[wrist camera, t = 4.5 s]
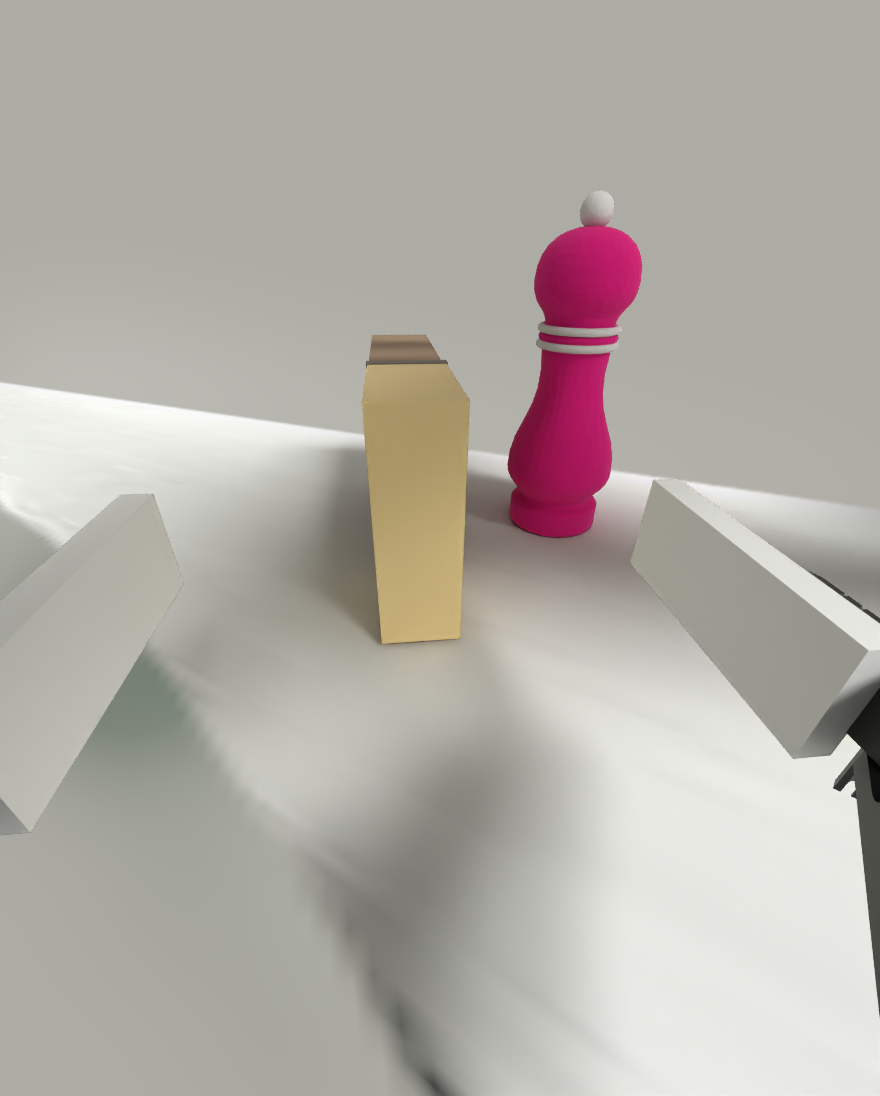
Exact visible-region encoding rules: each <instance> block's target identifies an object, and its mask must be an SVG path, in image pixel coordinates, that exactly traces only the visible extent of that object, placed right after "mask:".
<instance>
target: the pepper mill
mask: <svg viewBox="0 0 880 1096" xmlns="http://www.w3.org/2000/svg"><path fill="white" fill-rule="evenodd" d="M613 211H614V202H613V199H612V197H611V196H610V194H608V193H607V192H605V191H595V192H593V193H591V194H590V195H589V196H588V197H587V198H586V199H585V200H584V202H583V204H582V206H581V210H580V217H581V222H582V224H583V225H584V226H585V227H580V228H576V229H573V230H570V231H567V232H565V233H564V234H562V235H560V236H558V237H557V238H556V239H555V240H554V241H553V242H551V244H549V245H548V247H547V248H546V250H545V251H544V253H543V254H542V256H541V259H540V261H539V263H538V266H537V270H536V275H535V280H534V291H535V295H536V299H537V302H538V304H539V305H540V307H541V308H542V310H543V312H544V316H545V321H544V322H542V323H540V324H539V325H538V330H539V331H540V333H539V339H538V340H537V341H536V345H537V346H538V347H539V348H541V349H542V358H541V372H540V378H539V383H538V388H537V391H536V394H535V397H534V400H533V403H532V404H531V407H530V408H529V411H528V412H527V414H526V416H525V418H524V420H523V422H522V424H521V426H520V427H519V429H518V431H517V433H516V435H515V437H514V440H513V443H512V446H511V448H510V453H509V458H508V471H509V474H510V476H511V478H512V480H513V481H514V482H515V484H516V485H517V486H518V487H517V488H515V489H514V491H513V492H512V494H511V504H510V517H511V519H512V520H513V522H514V523H515V524H516V525H518V526H519V527H520V528H522V529H524V530H526V531H528V532H531V533H534V534H538V535H542V536H547V537H570V536H575V535H578V534H582V533H583V532H585V531H586V530H588V529H589V528H590V527H591V525H592V522H593V518H594V513H595V508H596V501H595V499H594V497H593V496H592V495H593V494H595V493H596V492H598V491H599V490H600V489H601V488H602V487H603V486H604V485H605V484H606V482H607V481H608V479H609V476H610V471H611V463H612V451H611V441H610V437H609V432H608V428H607V424H606V419H605V414H604V409H603V387H604V377H605V371H606V368H607V363H608V360H609V356H610V352H613V351H615V350H617V348H618V346H619V345H618V343H617V340H618V334H619V333H621V331H622V328H621V326H620V325H618V324H616V321H617V320H618V318H619V316H620V315H621V314H622V312H624V310H625V309H626V308H627V307H628V306H629V305H630V304H631V303H632V302H633V300H634V299H635V297H636V295H637V293H638V289H639V286H640V282H641V272H642V261H641V255H640V252H639V249H638V247H637V245H636V243H635V242H634V241H633V240H632V239H631V238H630V237H629V236H628V235H627V234H625V233H624V232H622V231H620V230H617V229H614V228H611V227H605V226H606V224H608V222H609V221H610V219H611V218H612V215H613Z"/></svg>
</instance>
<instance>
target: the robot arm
mask: <svg viewBox="0 0 880 1096" xmlns="http://www.w3.org/2000/svg"><path fill="white" fill-rule="evenodd" d="M630 563H631V564H632V565H633V567H634V568H635V569H636V570H637V571H638V573H639V574H640V575H641V576H642V577H643V579H644V580H645V581H646V582H647V584H648V585H649V586H650V587H651V588H652V590H653V591H654V592H655V593H656V594H657V596H658V597H659V598H660V599H661V600H662V602H663V603H664V604H665V605H666V606H667V608H668V609H669V610H670V611H671V612H672V614H673V615H674V616H675V617H676V618H677V620H678V621H679V622H680V623H681V624H682V626H683V627H684V628H685V629H686V630H687V632H688V633H689V634H690V635H691V636H692V638H693V639H694V640H695V641H696V642H697V644H698V645H699V646H700V647H701V648H702V650H703V651H704V652H705V653H706V654H707V656H708V657H709V658H710V659H711V661H712V662H713V663H714V664H715V665H716V667H717V668H718V669H719V670H720V671H721V673H722V674H723V675H724V676H725V677H726V679H727V680H728V681H729V682H730V683H731V685H732V686H733V687H734V688H735V689H736V691H737V692H738V693H739V694H740V695H741V697H742V698H743V699H744V700H745V701H746V703H747V704H748V705H749V706H750V707H751V709H752V710H753V711H754V712H755V713H756V715H757V716H758V717H759V718H760V719H761V721H762V722H763V723H764V724H765V725H766V727H767V728H768V729H769V730H770V731H771V733H772V734H773V735H774V736H775V737H776V739H777V740H778V741H779V742H780V744H781V745H782V746H783V747H784V748H785V750H786V751H787V752H788V753H789V754H790V756H791V757H792V758H793V759H796V758H807V757H817V756H827V755H831V754H832V753H833V751H834V750H835V749H836V747H837V746H838V745H839V743H840V742H841V741H842V739H843V738H844V737H845V736H846V734H848V735H849V736H850V737H851V738H852V739H853V740H854V741H855V742H856V743H857V744H858V745H859V746H860V747H861V749H860V750H859V751H858V753H857V754H856V755H855V756H854V758H853V759H852V760H851V761H850V763H849V764H848V765H847V766H846V768H845V769H844V770H843V771H842V772H841V774H840V775H839V776H838V777H837V779H836V780H835V783H834V787H833V788H834V789H836V790H838V791H841V790H842V789H843V788H844V787H845V786H846V784H847V783H848V782H850V781H855V788H856V790H855V791H854V792H853V793H852V794H851V797H854V798H856V799H857V807H858V816H859V826H860V835H861V845H862V854H863V864H864V873H865V883H866V892H867V902H868V911H869V921H870V930H871V940H872V949H873V959H874V968H875V978H876V987H877V996H878V1006H879V1015H880V618H878V617H877V616H876V615H874V614H873V613H871V612H870V611H869V610H867V609H862V605H860V604H859V603H857V602H856V601H855V600H853V599H852V598H850V597H849V596H844V593H843V592H842V591H841V590H839V589H838V588H836V587H835V586H834V585H832V584H831V583H829V582H828V581H827V580H825V579H824V578H822V577H820V576H818V575H816V574H814V573H812V572H809V571H807V570H805V569H803V568H802V567H801V566H799V565H798V564H797V563H795V562H794V561H792V560H791V559H790V558H788V557H787V556H785V555H784V554H783V553H781V552H780V551H779V550H777V549H776V548H774V547H773V546H772V545H770V544H769V543H767V542H766V541H765V540H763V539H762V538H761V537H759V536H758V535H756V534H755V533H754V532H752V531H751V530H749V529H748V528H747V527H745V526H744V525H743V524H741V523H740V522H738V521H737V520H736V519H734V518H733V517H731V516H730V515H729V514H727V513H726V512H725V511H723V510H722V509H720V508H719V507H718V506H716V505H715V504H713V503H712V502H711V501H709V500H708V499H707V498H705V497H704V496H702V495H701V494H700V493H698V492H697V491H695V490H694V489H693V488H691V487H690V486H689V485H687V484H686V483H684V482H683V481H682V480H680V479H660V480H653V483H652V487H651V490H650V494H649V497H648V501H647V504H646V508H645V512H644V515H643V519H642V522H641V526H640V529H639V533H638V536H637V540H636V543H635V547H634V550H633V554H632V557H631V561H630ZM183 585H184V582H183V579H182V576H181V573H180V570H179V568H178V565H177V562H176V559H175V556H174V553H173V550H172V547H171V544H170V541H169V538H168V535H167V533H166V530H165V527H164V524H163V521H162V518H161V515H160V512H159V509H158V506H157V503H156V500H155V498H154V495H153V494H133V495H120V496H119V497H117V498H116V499H115V500H114V501H113V502H112V503H111V504H110V505H108V506H107V507H106V508H105V509H104V510H103V511H102V512H101V513H99V514H98V515H97V516H96V517H95V518H94V519H93V520H91V521H90V522H89V523H88V524H87V525H86V526H85V527H84V528H82V529H81V530H80V531H79V532H78V533H77V534H76V535H75V536H73V537H72V538H71V539H70V540H69V541H68V542H67V543H66V544H64V545H63V546H62V547H61V548H60V549H59V550H58V551H56V552H55V553H54V554H53V555H52V556H51V557H50V558H49V559H47V560H46V561H45V562H44V563H43V564H42V565H41V566H40V567H38V569H36V570H35V571H34V572H33V573H32V574H31V575H30V576H28V577H27V578H26V579H25V580H24V581H23V582H21V583H20V584H19V585H18V586H17V587H16V588H15V589H14V590H12V591H11V592H10V593H9V594H8V595H7V596H6V597H5V598H3V599H2V600H1V601H0V835H9V834H20V833H30V832H31V831H32V829H33V828H34V826H35V824H36V823H37V821H38V819H39V818H40V816H41V815H42V813H43V811H44V810H45V808H46V806H47V805H48V803H49V801H50V800H51V798H52V797H53V795H54V794H55V792H56V790H57V789H58V787H59V785H60V784H61V782H62V781H63V779H64V777H65V776H66V774H67V772H68V771H69V769H70V768H71V766H72V764H73V763H74V761H75V760H76V758H77V756H78V754H79V753H80V751H81V750H82V748H83V746H84V745H85V743H86V742H87V740H88V738H89V737H90V735H91V733H92V732H93V730H94V729H95V727H96V725H97V724H98V722H99V720H100V719H101V717H102V716H103V714H104V713H105V711H106V709H107V708H108V706H109V704H110V703H111V701H112V700H113V698H114V696H115V695H116V693H117V691H118V690H119V688H120V687H121V685H122V683H123V682H124V680H125V679H126V677H127V675H128V673H129V672H130V670H131V669H132V667H133V665H134V664H135V662H136V661H137V659H138V657H139V656H140V654H141V653H142V651H143V649H144V648H145V646H146V644H147V643H148V641H149V640H150V638H151V636H152V635H153V633H154V632H155V630H156V628H157V627H158V625H159V623H160V622H161V620H162V619H163V617H164V615H165V614H166V612H167V610H168V609H169V607H170V606H171V604H172V602H173V601H174V599H175V597H176V596H177V594H178V593H179V591H180V589H181V588H182V586H183Z"/></svg>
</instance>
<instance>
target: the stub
mask: <svg viewBox="0 0 880 1096" xmlns="http://www.w3.org/2000/svg"><path fill="white" fill-rule="evenodd" d="M469 409H470V400H469V398H468V397H467V395H466V393H465V392H464V391H463V389H462V387H461V386H460V384H459V382H458V381H457V379H456V378H455V376H454V374H453V373H452V371H451V370H450V368H449V367H448V363H447V361H446V360H413V361H366V377H365V384H364V392H363V398H362V410H363V421H364V434H365V446H366V458H367V470H368V482H369V494H370V506H371V518H372V530H373V543H374V555H375V567H376V579H377V591H378V603H379V615H380V627H381V639H382V644H388V643H402V642H416V641H430V640H444V639H458V638H460V632H461V608H462V583H463V558H464V534H465V509H466V484H467V459H468V434H469Z"/></svg>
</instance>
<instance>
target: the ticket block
mask: <svg viewBox="0 0 880 1096" xmlns="http://www.w3.org/2000/svg"><path fill="white" fill-rule="evenodd" d="M413 360H440V358H439V356H438V355H437V353H436V351H435V349H434V348H433V346H432V344H431V343H430V341H429V340H428V338H427V336H426V335H372V342H371V349H370V357H369V361H413Z"/></svg>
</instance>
